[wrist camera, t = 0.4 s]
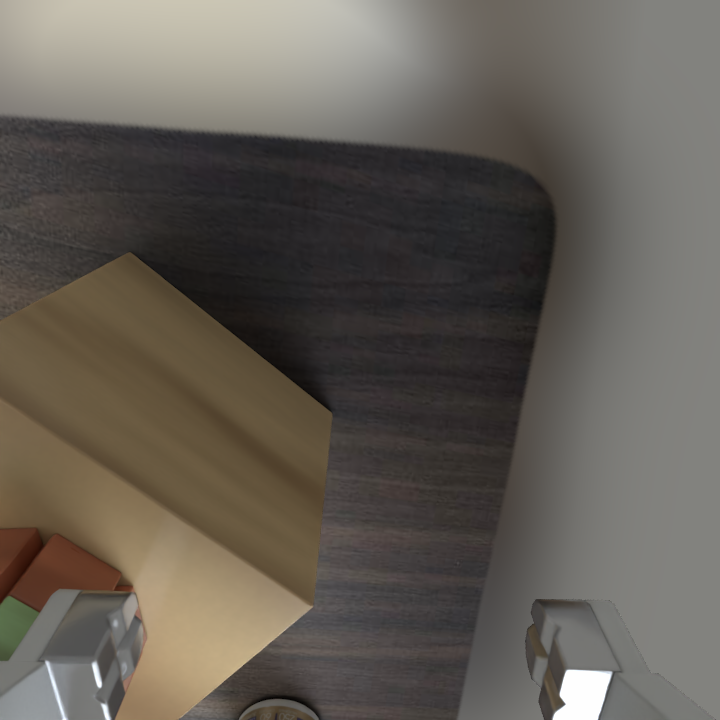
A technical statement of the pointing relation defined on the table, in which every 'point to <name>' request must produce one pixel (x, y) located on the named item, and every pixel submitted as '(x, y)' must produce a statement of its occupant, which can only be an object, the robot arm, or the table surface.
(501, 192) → the table surface
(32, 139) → the table surface
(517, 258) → the table surface
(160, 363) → the stacking stand
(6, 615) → the green ring
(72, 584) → the terracotta ring
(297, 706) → the pill bottle
